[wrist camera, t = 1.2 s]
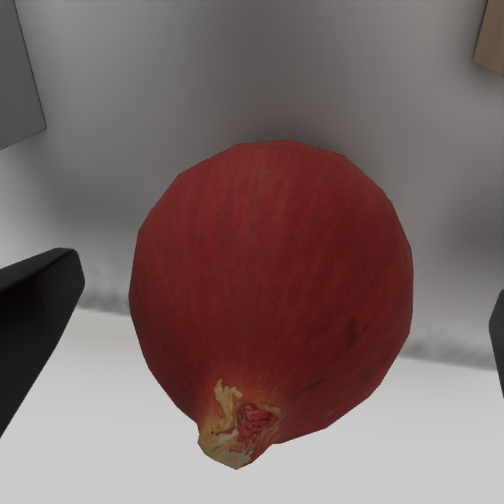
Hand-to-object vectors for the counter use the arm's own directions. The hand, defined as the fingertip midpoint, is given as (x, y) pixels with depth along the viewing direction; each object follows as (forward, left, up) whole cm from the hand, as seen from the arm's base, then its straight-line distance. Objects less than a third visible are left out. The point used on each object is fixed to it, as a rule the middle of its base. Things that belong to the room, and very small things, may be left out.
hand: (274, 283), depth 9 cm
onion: (0, 0, -4) cm, 4 cm away
